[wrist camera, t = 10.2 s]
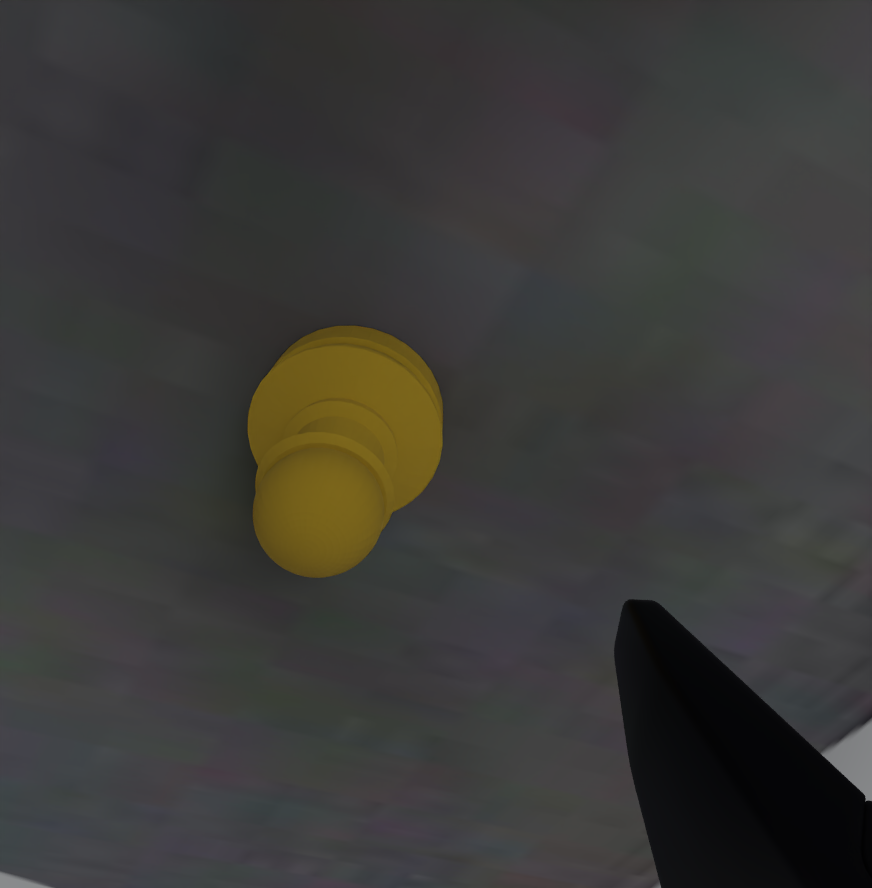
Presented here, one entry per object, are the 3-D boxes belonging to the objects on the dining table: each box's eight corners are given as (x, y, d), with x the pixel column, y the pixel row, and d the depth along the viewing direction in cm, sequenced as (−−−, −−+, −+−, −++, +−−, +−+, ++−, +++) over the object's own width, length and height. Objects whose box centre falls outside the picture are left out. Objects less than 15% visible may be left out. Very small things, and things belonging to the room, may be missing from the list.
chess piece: (481, 420, 14) (488, 564, 10) (354, 516, 16) (310, 682, 11) (354, 284, 13) (298, 380, 9) (227, 401, 14) (122, 537, 10)
